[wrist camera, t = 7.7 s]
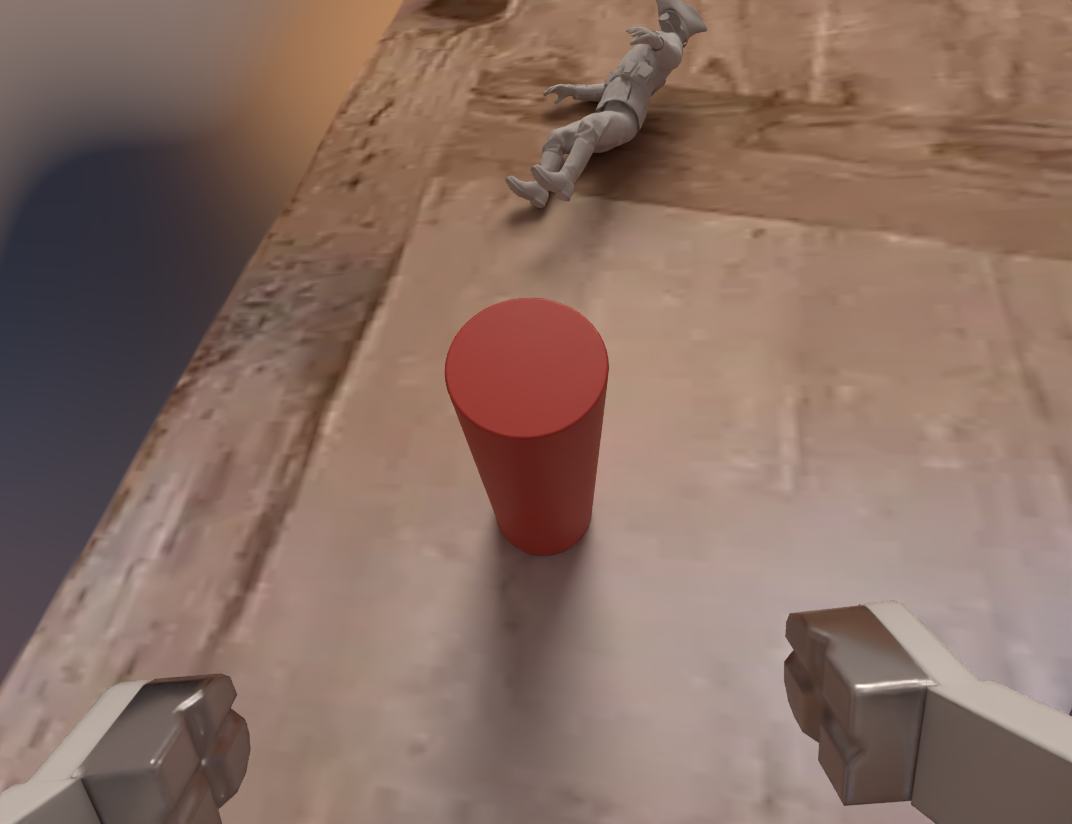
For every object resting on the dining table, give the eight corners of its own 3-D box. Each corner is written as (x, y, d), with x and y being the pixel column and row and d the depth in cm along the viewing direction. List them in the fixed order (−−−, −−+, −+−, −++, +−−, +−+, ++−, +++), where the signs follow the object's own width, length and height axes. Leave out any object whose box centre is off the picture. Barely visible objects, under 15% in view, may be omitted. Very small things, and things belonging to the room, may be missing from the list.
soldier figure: (476, 194, 30) (582, -11, 30) (550, 248, 32) (647, 56, 33) (553, 163, 23) (687, -100, 24) (639, 234, 25) (759, -7, 26)
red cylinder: (548, 576, 20) (532, 473, 11) (476, 512, 21) (410, 372, 12) (611, 503, 21) (643, 354, 12) (540, 445, 22) (520, 271, 13)
